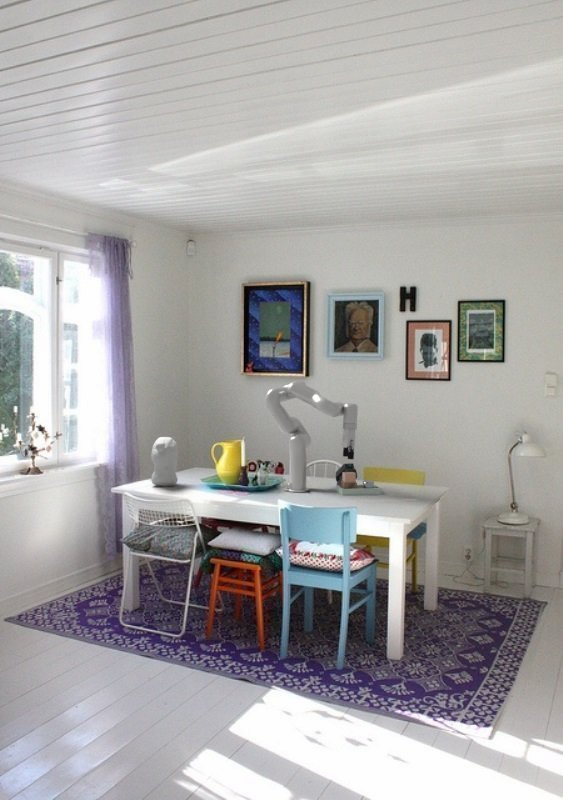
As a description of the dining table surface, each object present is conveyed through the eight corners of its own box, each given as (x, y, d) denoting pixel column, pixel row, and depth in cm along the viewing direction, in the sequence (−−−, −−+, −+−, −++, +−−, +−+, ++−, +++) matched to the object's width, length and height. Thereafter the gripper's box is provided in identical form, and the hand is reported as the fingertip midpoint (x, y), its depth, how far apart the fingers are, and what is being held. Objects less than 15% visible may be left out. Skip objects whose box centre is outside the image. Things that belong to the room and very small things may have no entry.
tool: (350, 486, 412) (345, 461, 418) (337, 498, 428) (331, 473, 434) (360, 486, 414) (354, 461, 420) (346, 497, 430) (341, 473, 436)
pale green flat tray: (341, 496, 398) (341, 489, 398) (336, 492, 410) (336, 485, 409) (381, 495, 402) (381, 488, 402) (374, 491, 414) (374, 484, 413)
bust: (181, 483, 433) (181, 435, 432) (172, 491, 407) (172, 440, 405) (156, 482, 434) (156, 434, 432) (145, 490, 408) (145, 439, 406)
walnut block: (344, 494, 401) (344, 483, 400) (340, 491, 408) (341, 480, 407) (356, 493, 402) (357, 482, 402) (353, 491, 409) (353, 480, 408)
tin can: (364, 493, 403) (364, 482, 403) (361, 491, 409) (361, 480, 409) (375, 493, 404) (375, 482, 404) (371, 491, 410) (372, 480, 410)
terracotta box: (344, 482, 401) (345, 473, 401) (342, 481, 406) (342, 472, 406) (355, 482, 403) (355, 473, 402) (352, 480, 407) (353, 471, 407)
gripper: (339, 424, 410) (337, 455, 412) (347, 428, 393) (345, 460, 395) (352, 424, 412) (350, 455, 413) (361, 428, 395) (359, 460, 396)
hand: (348, 457), depth 404 cm, fingers open, 9 cm apart
